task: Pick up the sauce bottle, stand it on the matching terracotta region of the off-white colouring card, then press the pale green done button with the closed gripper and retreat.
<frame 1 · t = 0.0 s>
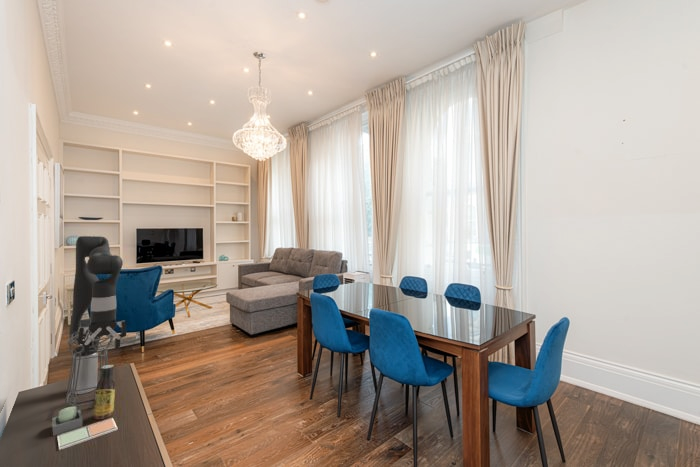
hand: (102, 351, 116), 29 cm above the table, fingers open, 8 cm apart
done button: (67, 415, 117), point 4 cm above the table, slide at 0.0 cm
geometric lantern: (89, 404, 133), on the table
colouring card: (88, 433, 113), on the table
button housing: (67, 426, 117), on the table
sauce bottle: (104, 416, 124), on the table
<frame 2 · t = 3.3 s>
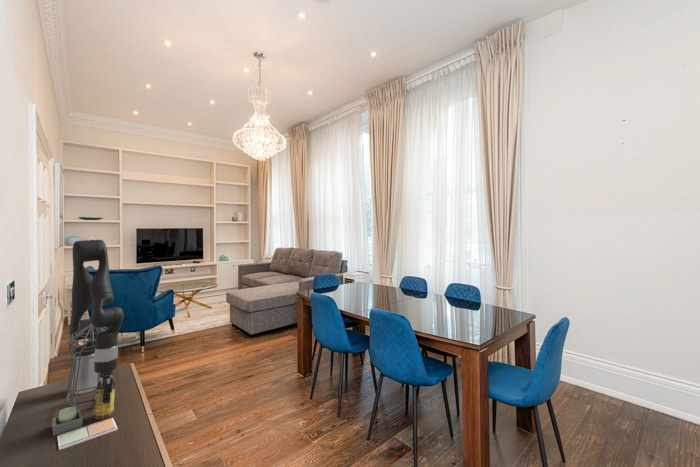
hand: (104, 399, 124), 7 cm above the table, fingers closed on sauce bottle, 6 cm apart
sauce bottle: (104, 416, 124), on the table, touching gripper
everything else where it was.
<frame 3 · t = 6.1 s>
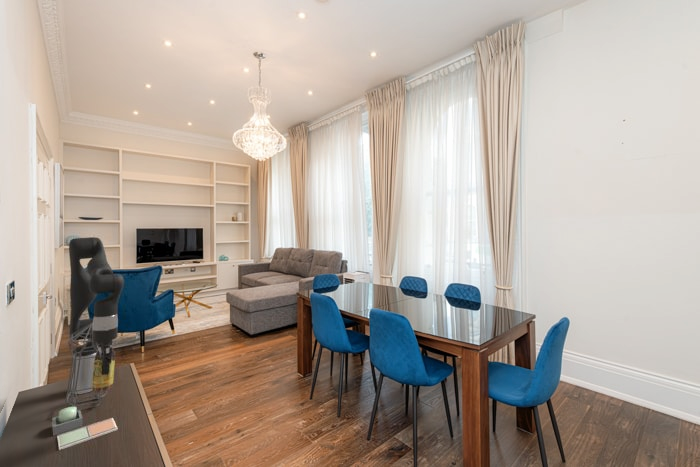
hand: (103, 371, 117), 21 cm above the table, fingers closed on sauce bottle, 6 cm apart
sauce bottle: (103, 389, 116), point 15 cm above the table, touching gripper
everything else where it was.
when the fingers open (8 cm above the table, at t = 8.9 s): sauce bottle stays where it is, resting on colouring card.
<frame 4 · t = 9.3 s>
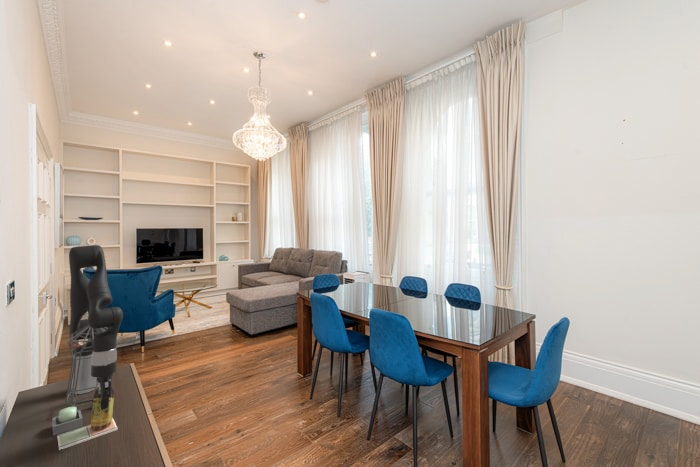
hand: (102, 404, 116), 9 cm above the table, fingers open, 8 cm apart
sauce bottle: (101, 427, 116), point 1 cm above the table, touching colouring card
everything else where it was.
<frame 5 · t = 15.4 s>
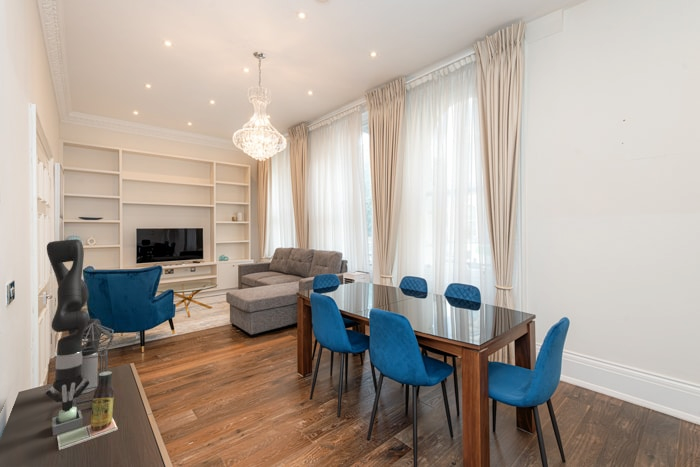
hand: (67, 410, 117), 6 cm above the table, fingers closed
done button: (67, 415, 117), point 4 cm above the table, slide at 0.0 cm, touching gripper
everything else where it was.
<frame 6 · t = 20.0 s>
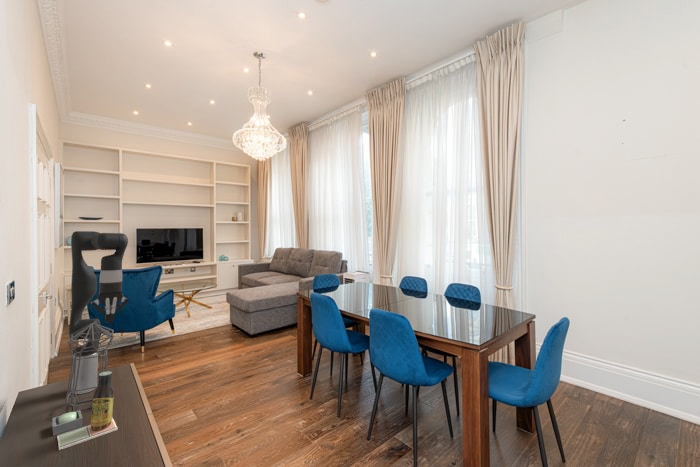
hand: (109, 322, 128), 37 cm above the table, fingers closed
done button: (67, 420, 117), point 2 cm above the table, slide at -2.1 cm
everything else where it was.
at the end: sauce bottle inside the target area (0.2 cm from its centre), point 0.6 cm above the table; sauce bottle tilted 0°; done button slide at -2.1 cm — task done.
